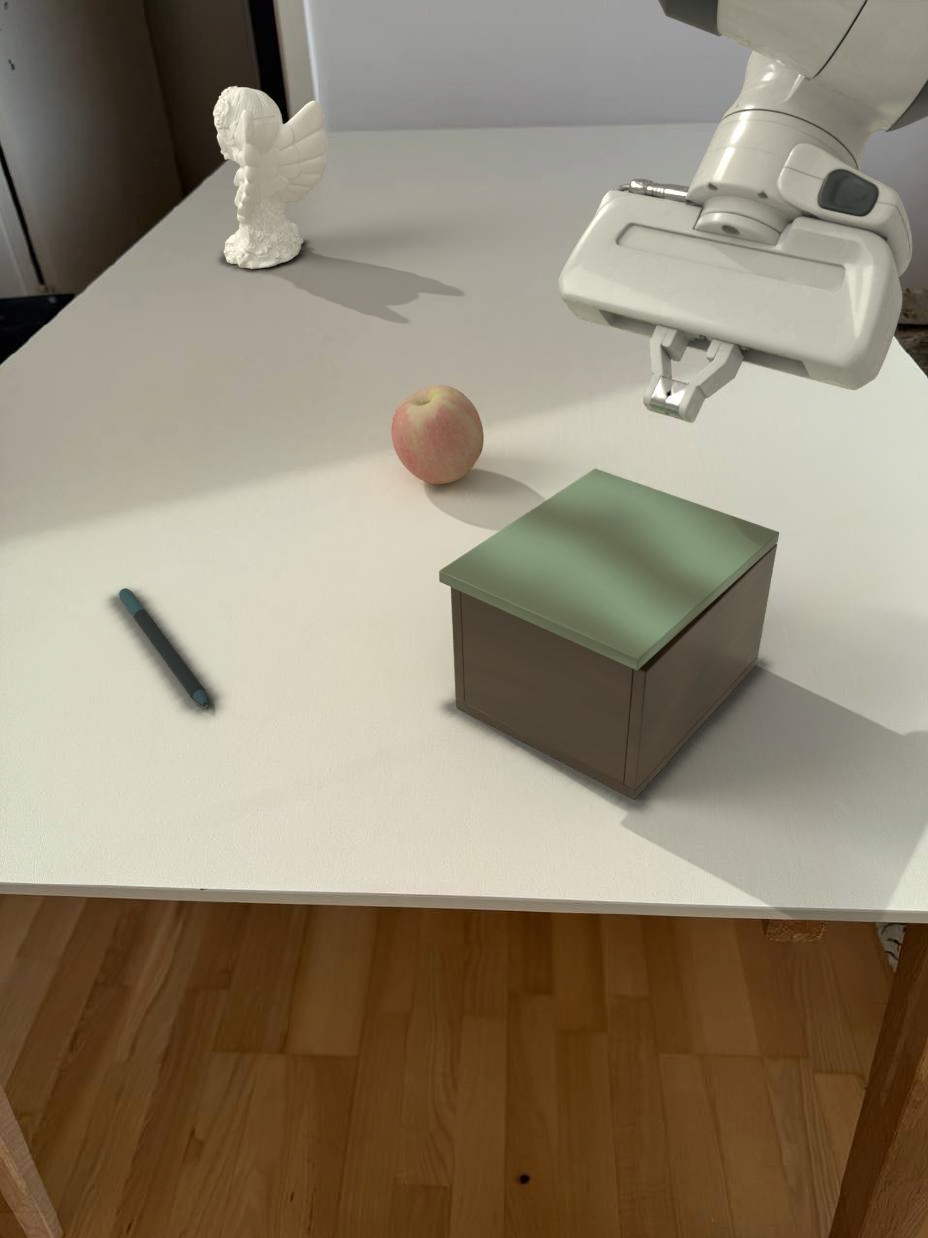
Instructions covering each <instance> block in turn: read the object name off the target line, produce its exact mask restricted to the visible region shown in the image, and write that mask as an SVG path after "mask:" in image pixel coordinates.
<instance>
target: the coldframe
mask: <svg viewBox="0 0 928 1238" xmlns="http://www.w3.org/2000/svg"><path fill="white" fill-rule="evenodd" d="M777 548H778V543H777V544H775V545H774V546H773V547H772V548H771V549H770V550H769V551H768V552H767V553H766V554H764V555H763V556H762V557H761V558H760V559H759V560H758V561H757V562H756V563H755V564H754V565H752V566H751V567H750V568H749V569H748V570H747V571H746V572H745V573H744V574H743V575H741V576H740V577H739V578H738V579H737V580H736V581H735V582H734V583H733V584H732V585H730V586H729V587H728V588H727V589H726V590H725V591H724V592H723V593H722V594H721V595H719V596H718V597H717V598H716V599H715V600H714V601H713V602H712V603H711V604H710V605H709V606H707V607H706V608H705V609H704V610H703V611H702V612H701V613H700V614H699V615H698V616H696V617H695V618H694V619H693V620H692V621H691V622H690V623H689V624H688V625H687V626H685V627H684V628H683V629H682V630H681V631H680V632H679V633H678V634H677V635H676V636H675V637H673V638H672V639H671V640H670V641H669V642H668V643H667V644H666V645H665V646H664V647H662V648H661V649H660V650H659V651H658V652H657V653H656V654H655V655H654V656H653V657H651V658H650V659H649V660H648V661H647V662H646V663H645V664H644V665H643V666H642V667H640V668H639V669H638V670H635V669H633V668H631V667H629V666H626V665H624V664H622V663H620V662H617V661H615V660H613V659H611V658H609V657H606V656H604V655H602V654H600V653H597V652H595V651H593V650H591V649H588V648H586V647H584V646H582V645H579V644H577V643H575V642H573V641H571V640H568V639H566V638H564V637H562V636H559V635H557V634H555V633H553V632H550V631H548V630H546V629H544V628H542V627H539V626H537V625H535V624H533V623H530V622H528V621H526V620H524V619H521V618H519V617H517V616H515V615H513V614H510V613H508V612H506V611H504V610H501V609H499V608H497V607H495V606H492V605H490V604H488V603H486V602H483V601H481V600H479V599H477V598H475V597H472V596H470V595H468V594H466V593H463V592H461V591H459V590H457V589H454V588H452V587H450V602H451V603H450V605H451V626H452V647H453V648H452V649H453V650H452V651H453V670H454V674H453V675H454V695H455V696H454V697H455V707H456V708H457V709H459V710H461V711H463V712H465V713H466V714H468V715H470V716H473V717H475V718H476V719H478V720H480V721H482V722H484V723H486V724H488V725H490V726H492V727H493V728H494V729H497V730H499V731H501V732H503V733H505V734H507V735H508V736H511V737H513V738H515V739H517V740H518V741H521V742H522V743H524V744H526V745H528V746H529V747H532V748H534V749H536V750H538V751H540V752H542V753H544V754H546V755H548V756H549V757H551V758H553V759H555V760H558V761H559V762H561V763H563V764H565V765H567V766H569V767H570V768H572V769H574V770H576V771H577V772H581V773H582V774H584V775H586V776H587V777H589V778H591V779H594V780H596V781H597V782H599V783H602V784H603V785H605V786H607V787H609V788H611V789H613V790H614V791H617V792H619V793H621V794H622V795H624V796H626V797H629V798H630V799H632V800H635V799H636V798H637V797H638V796H639V795H640V794H642V792H643V791H644V790H645V788H646V787H647V786H648V785H649V784H650V783H651V782H652V781H653V779H654V778H655V777H656V776H657V775H658V774H659V773H660V772H661V771H662V770H663V769H664V767H665V766H667V765H668V763H669V762H670V761H671V760H672V759H673V758H674V756H675V755H676V754H677V753H678V752H679V751H680V750H681V749H682V748H683V746H684V745H685V744H686V743H687V742H688V741H689V740H690V739H691V738H692V737H693V736H694V734H695V733H696V732H697V731H698V730H699V729H700V728H701V727H702V725H704V724H705V722H706V721H707V720H708V719H709V718H710V717H711V716H712V714H713V713H714V712H715V711H716V710H717V709H718V708H719V707H720V706H721V704H722V703H723V702H724V701H725V700H726V699H727V698H728V697H729V696H730V695H731V694H732V693H733V692H734V690H735V689H736V688H737V687H738V686H739V685H740V684H741V683H742V682H743V680H744V679H746V677H747V676H748V675H749V674H750V673H751V672H752V671H753V670H754V668H755V667H756V666H757V664H758V659H759V653H760V647H761V641H762V636H763V630H764V626H765V625H764V624H765V618H766V613H767V607H768V601H769V595H770V590H771V584H772V577H773V572H774V567H775V560H776V555H777Z"/></svg>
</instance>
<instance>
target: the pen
mask: <svg viewBox="0 0 928 1238" xmlns="http://www.w3.org/2000/svg"><path fill="white" fill-rule="evenodd" d="M118 596H119V600H120V601H121V602H122V604H123V605H124V606H125V608H126V609H127V611H128V612H129V614H130V615H131V616H132V617H133V619H134V621H135V622H136V623H137V624H138V626H139V627H140V629H141V631H142V632H143V633H144V634H145V636H146V637H147V638H148V640H149V641H150V643H151V644H152V645H153V647H154V649H156V651H157V652H158V653H159V655H160V656H161V658H162V659H163V661H164V662H165V663H166V665H167V667H168V668H169V669H170V670H171V672H172V673H173V674H174V676H175V677H176V679H177V680H178V681H179V683H180V684H181V686H182V687H183V688H184V690H185V691H186V693H187V694H188V695H189V697H190V698H191V699H192V700H193V701H195V702H196V703H198V704H199V705H202V706H203V707H205V708H208V707H209V700H208V695H207V691H206V689H205V688H204V687H203V685H202V684H201V682H200V681H199V680H198V678H197V677H196V676H195V675H194V673H193V672H192V670H191V669H190V667H188V665H187V664H186V662H185V661H184V659H183V658H182V657H181V655H180V654H179V652H177V650H176V649H175V647H174V646H173V645H172V644H171V642H170V641H169V640H168V638H167V637H166V635H165V634H164V632H163V631H162V630H161V629H160V627H159V626H158V624H157V623H156V622H155V620H153V618H152V617H151V615H150V614H149V612H148V611H147V610H146V609H145V607H144V605H143V604H142V603H141V602H140V600H139V599H138V597H137V596H136V595H135V594H134V592H133V591H132V590H131V589H129V588H126V587H125V588H122V589H120V591H119V592H118Z"/></svg>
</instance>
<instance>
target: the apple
mask: <svg viewBox="0 0 928 1238" xmlns="http://www.w3.org/2000/svg"><path fill="white" fill-rule="evenodd" d="M390 427H391V429H390V432H391V433H390V434H391V442H392V446H393V448H394V451H395V454H396V455H397V457H398V459H399V461H400V463H401V464H402V465H403V466H404V468H405V469H407V470H408V471H409V472H410V473H411V475H413V476H414V477H416V478H417V479H419V480H420V481H423V482H424V483H428V484H431V485H444V484H450V483H453V482H456V481H458V480H460V479H461V478H463V477H464V476H465V475H466V474H468V473H469V472H470V471H471V469H472V468H473V467H474V465H475V464H476V463H477V462H478V460H479V459H480V457H481V455H482V452H483V450H484V449H483V448H484V441H485V439H484V438H485V437H484V427H483V424H482V421H481V417H480V414H479V412H478V410H477V408H476V407H475V405H474V403H473V402H472V401H471V400H470V399H469V398H468V396H466V395H465V394H464V393H463V392H461V391H460V390H458V389H456V388H455V387H453V386H450V385H442V384H433V385H428V386H426V387H424V388H423V389H420V390H418V391H417V392H415V393H413V394H412V395H410V396H408V397H407V398H406V399H404V400H403V401H402V402H401V403H400V404H399V406H398V407H397V408H396V410H395V411H394V414H393V416H392V421H391V426H390Z"/></svg>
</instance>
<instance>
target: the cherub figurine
mask: <svg viewBox="0 0 928 1238" xmlns="http://www.w3.org/2000/svg"><path fill="white" fill-rule="evenodd" d="M220 94H221V95H219V96H218V100H217V101H216V103H215V105H214V107H213V112H212V115H213V122H214V123H213V124H214V127H215V128H216V131H217V134H216V140H217V143H218V146H219V147H220V153H221V155H223V158H224V160H230V161H233V162H235V163H237V164H238V165H239V168H238V169H237V170H236V173H235V175H234V178H233V185H234V186H236V187H238V189H237V191H236V195H235V198H234V205H235V206H236V207H237V213H236V220H237V221H238V222H239V225H238V226H239V227H238V229H237V231H235V232H234V233H233V234H231V235H230V236H229V237H228V238H227V239H226V240H225V242H224V249H223V254H224V257H225V260H226V262H227V263H228V264H230V265H238V267H239V268H241V269H251V270H256V269H264V268H270V267H274V266H277V265H279V264H282V263H286V262H289V261H291V260H293V259H294V257H297V256H298V255H299V253H300V251H301V248H302V245H303V244H304V239H303V238H302V235H301V234H299V233H300V228H299V226H298V224H296V223H294V222H292V221H290V220H289V218H287V216H286V213H285V212H286V210H287V203H297V202H300V201H301V200H303V198H304V197H305V196H307V195H309V194H310V193H311V192H312V191H313V190H314V188H315V186H316V185H318V184H319V183H320V182H321V180H322V179H323V177H324V174H323V173H324V172H325V170H326V168H327V166H328V162H329V160H328V155H327V151H328V149H329V144H330V143H329V136H328V132H327V131H326V129H325V128H324V125H325V120H326V115H325V111H324V108H323V106H322V105H321V104H320V102H319V101H318V100H312V101H308V103H306V104H304V106H303V107H302V108H300V110H299V111H297V112H296V113H295V114H294V116H292V117H291V118H290V119H289V120H288V121H286V122H285V123H283V117H282V113H281V110H280V108H279V106H278V104H277V103H276V102H275V101H274V100H273V99H272V98H271V97H270V96H269V95H268V94H267V93H266V92H264V91H262V90H259V89H255V88H251V87H247V86H246V87H243V86H240V87H238V85H235V86H234V85H233V86H228V87H227V88H224V89H223V90H222V91H221V93H220Z"/></svg>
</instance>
